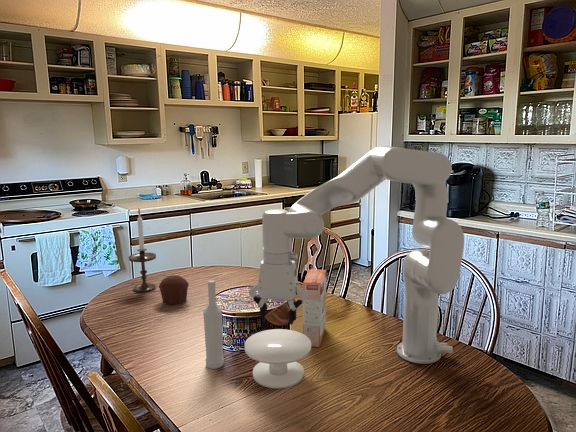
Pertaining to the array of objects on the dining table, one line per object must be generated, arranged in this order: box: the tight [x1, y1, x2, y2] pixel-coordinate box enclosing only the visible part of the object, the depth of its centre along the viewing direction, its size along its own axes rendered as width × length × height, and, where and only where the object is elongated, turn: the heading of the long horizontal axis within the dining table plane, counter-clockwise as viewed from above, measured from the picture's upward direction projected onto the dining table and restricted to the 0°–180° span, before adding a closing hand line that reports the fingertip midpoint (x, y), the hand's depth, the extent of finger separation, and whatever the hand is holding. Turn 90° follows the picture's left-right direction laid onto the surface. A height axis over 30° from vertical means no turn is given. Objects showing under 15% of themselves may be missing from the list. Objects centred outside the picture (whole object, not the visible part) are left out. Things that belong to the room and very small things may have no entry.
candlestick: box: [128, 207, 157, 294], centre depth 186 cm, size 11×11×35 cm
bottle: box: [202, 279, 225, 370], centre depth 126 cm, size 5×5×25 cm
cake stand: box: [244, 328, 312, 390], centre depth 122 cm, size 18×18×9 cm
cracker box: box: [302, 268, 327, 348], centre depth 142 cm, size 14×6×21 cm, turn 168°
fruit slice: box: [264, 301, 291, 326], centre depth 120 cm, size 8×7×5 cm
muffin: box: [158, 275, 190, 306], centre depth 175 cm, size 12×11×10 cm
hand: (278, 320), depth 120 cm, fingers closed on fruit slice, 7 cm apart
